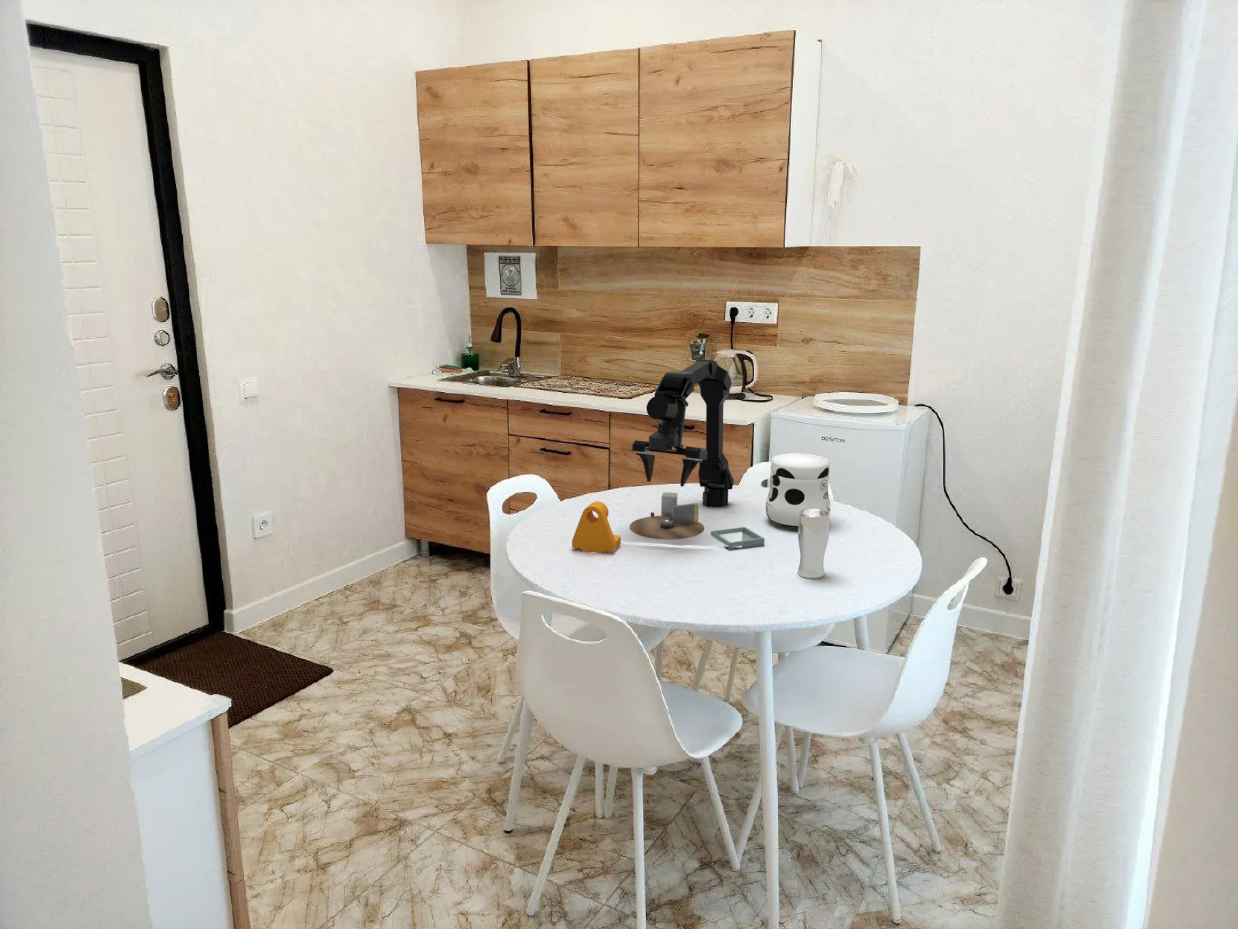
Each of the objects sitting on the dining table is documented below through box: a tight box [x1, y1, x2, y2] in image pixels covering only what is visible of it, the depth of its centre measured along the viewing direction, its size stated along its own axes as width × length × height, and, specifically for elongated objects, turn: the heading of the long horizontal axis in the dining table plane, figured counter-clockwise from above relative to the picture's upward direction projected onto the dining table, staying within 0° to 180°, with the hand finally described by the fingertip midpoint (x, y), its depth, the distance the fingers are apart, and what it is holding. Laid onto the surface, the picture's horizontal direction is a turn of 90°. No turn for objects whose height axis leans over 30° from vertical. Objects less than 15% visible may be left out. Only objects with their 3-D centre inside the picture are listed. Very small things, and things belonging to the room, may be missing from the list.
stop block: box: [660, 491, 679, 518], centre depth 238 cm, size 4×4×7 cm
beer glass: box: [797, 508, 830, 580], centre depth 200 cm, size 7×7×15 cm
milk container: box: [765, 452, 831, 529], centre depth 236 cm, size 17×17×18 cm
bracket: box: [571, 500, 622, 554], centre depth 217 cm, size 11×7×12 cm, turn 73°
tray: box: [710, 526, 766, 552], centre depth 223 cm, size 10×10×2 cm
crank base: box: [629, 511, 705, 541], centre depth 232 cm, size 20×20×2 cm
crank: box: [660, 502, 700, 527], centre depth 232 cm, size 11×4×5 cm, turn 111°
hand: (665, 484), depth 219 cm, fingers open, 9 cm apart
